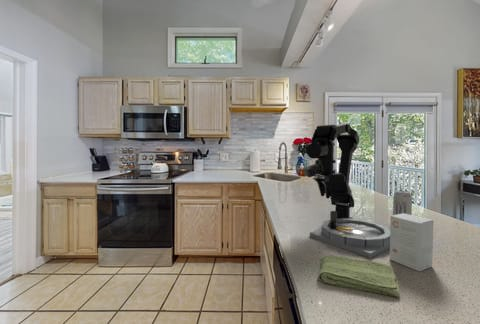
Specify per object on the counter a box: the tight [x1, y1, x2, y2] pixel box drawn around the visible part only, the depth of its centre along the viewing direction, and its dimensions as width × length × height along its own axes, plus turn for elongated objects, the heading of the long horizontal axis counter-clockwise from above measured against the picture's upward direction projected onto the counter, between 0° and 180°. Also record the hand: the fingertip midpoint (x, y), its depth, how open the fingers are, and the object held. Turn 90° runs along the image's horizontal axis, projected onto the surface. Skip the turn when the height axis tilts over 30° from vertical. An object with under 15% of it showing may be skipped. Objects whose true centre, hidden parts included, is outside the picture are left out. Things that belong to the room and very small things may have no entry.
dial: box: [329, 210, 382, 237], centre depth 87 cm, size 17×17×7 cm
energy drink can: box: [392, 190, 413, 215], centre depth 95 cm, size 6×6×15 cm
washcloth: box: [317, 254, 401, 297], centre depth 62 cm, size 13×18×3 cm
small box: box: [389, 213, 434, 272], centre depth 68 cm, size 8×6×13 cm
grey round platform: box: [309, 218, 390, 259], centre depth 87 cm, size 22×22×4 cm
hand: (325, 197), depth 96 cm, fingers open, 4 cm apart
